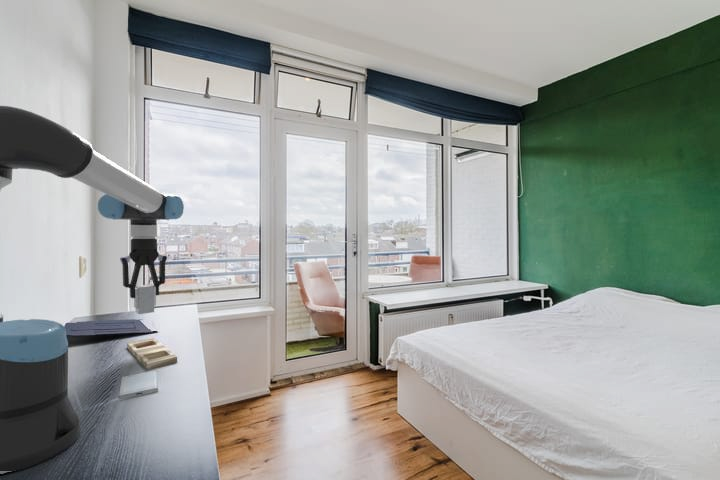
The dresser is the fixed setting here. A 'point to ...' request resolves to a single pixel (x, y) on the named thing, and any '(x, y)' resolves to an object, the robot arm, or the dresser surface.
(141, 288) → the post
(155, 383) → the hard drive
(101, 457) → the dresser surface
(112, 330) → the dark grey flat slab
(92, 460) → the dresser surface
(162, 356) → the rail
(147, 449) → the dresser surface
